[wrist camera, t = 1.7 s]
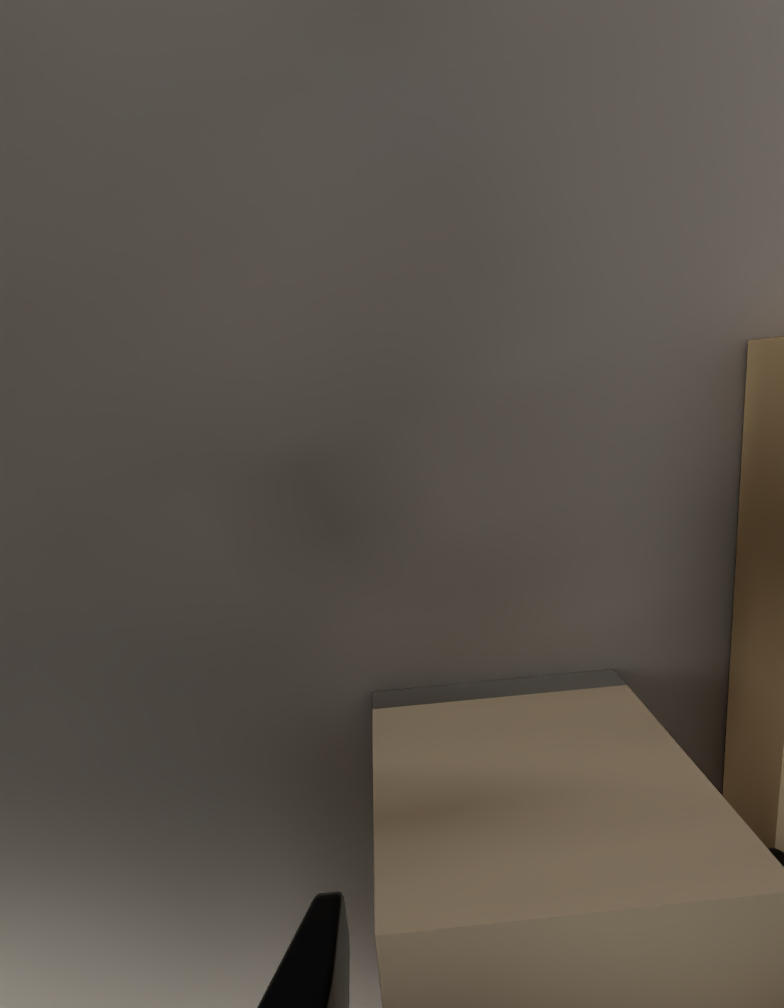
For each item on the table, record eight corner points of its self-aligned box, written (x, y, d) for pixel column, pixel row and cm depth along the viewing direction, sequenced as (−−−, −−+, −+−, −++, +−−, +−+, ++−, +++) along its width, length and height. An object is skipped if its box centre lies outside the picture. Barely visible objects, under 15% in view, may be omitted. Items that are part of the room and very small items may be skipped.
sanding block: (605, 944, 10) (752, 1294, 6) (399, 966, 10) (418, 1337, 6) (609, 664, 9) (803, 889, 5) (372, 687, 9) (374, 936, 5)
